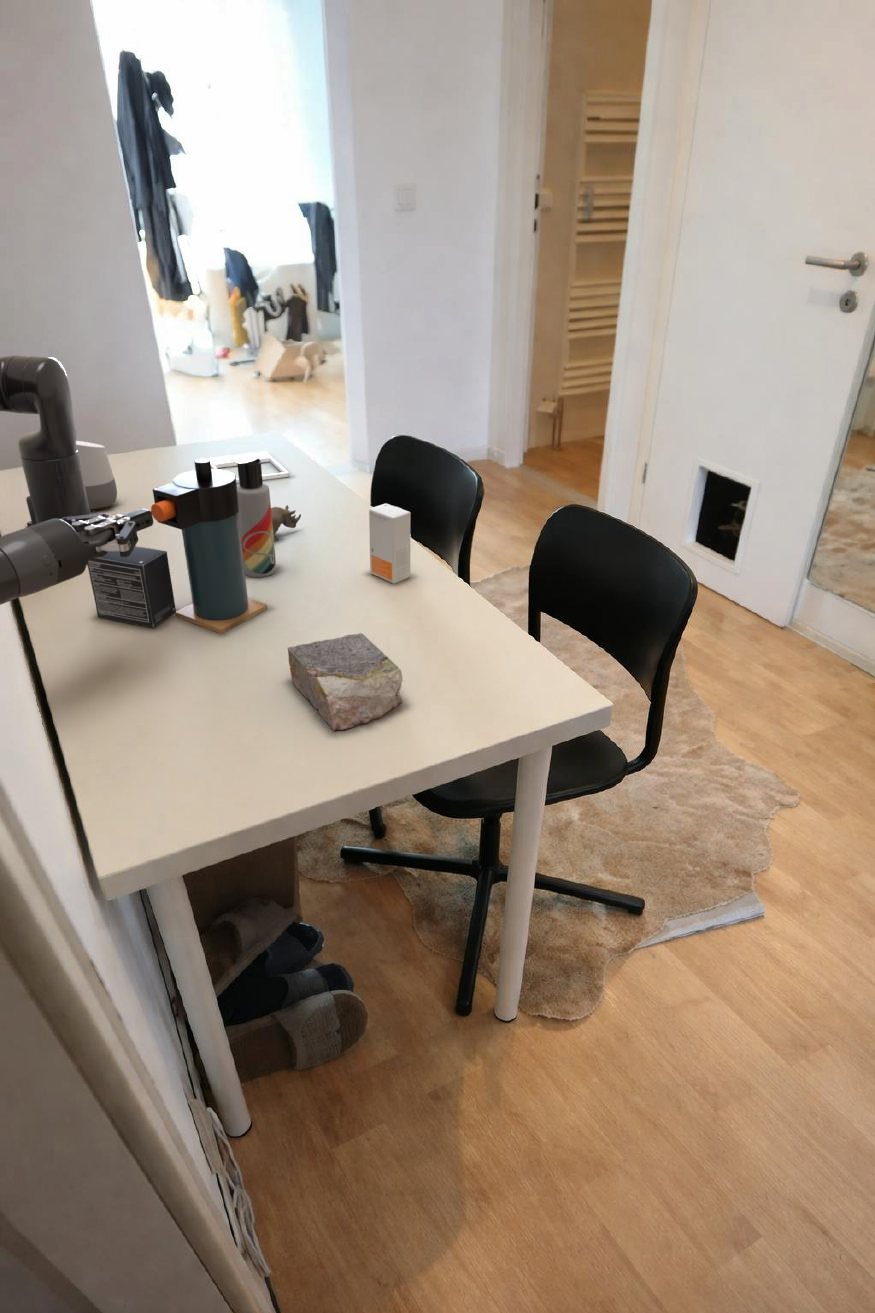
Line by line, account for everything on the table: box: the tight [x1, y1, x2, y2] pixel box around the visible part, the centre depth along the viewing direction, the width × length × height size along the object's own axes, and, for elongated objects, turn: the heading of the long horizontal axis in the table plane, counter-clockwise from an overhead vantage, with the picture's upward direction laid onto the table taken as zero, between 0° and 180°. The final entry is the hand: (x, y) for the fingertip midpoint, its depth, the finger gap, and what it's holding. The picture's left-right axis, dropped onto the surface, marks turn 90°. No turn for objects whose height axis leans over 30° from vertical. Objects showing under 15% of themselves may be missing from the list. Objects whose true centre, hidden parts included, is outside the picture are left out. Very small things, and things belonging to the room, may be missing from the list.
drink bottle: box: [152, 457, 249, 620], centre depth 122 cm, size 12×9×24 cm
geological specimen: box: [287, 632, 403, 731], centre depth 109 cm, size 11×6×15 cm
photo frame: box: [206, 451, 290, 484], centre depth 191 cm, size 15×1×18 cm
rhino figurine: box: [271, 504, 302, 542], centre depth 155 cm, size 4×14×6 cm, turn 131°
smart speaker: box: [76, 440, 118, 512], centre depth 166 cm, size 10×9×14 cm
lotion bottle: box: [237, 457, 277, 578], centre depth 139 cm, size 6×6×20 cm
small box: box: [86, 545, 177, 629], centre depth 126 cm, size 11×6×10 cm, turn 71°
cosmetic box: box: [368, 502, 412, 585], centre depth 140 cm, size 6×4×12 cm
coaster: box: [174, 597, 268, 635], centre depth 130 cm, size 10×10×1 cm
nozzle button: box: [150, 499, 176, 523], centre depth 115 cm, size 3×3×3 cm
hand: (149, 516), depth 113 cm, fingers closed
